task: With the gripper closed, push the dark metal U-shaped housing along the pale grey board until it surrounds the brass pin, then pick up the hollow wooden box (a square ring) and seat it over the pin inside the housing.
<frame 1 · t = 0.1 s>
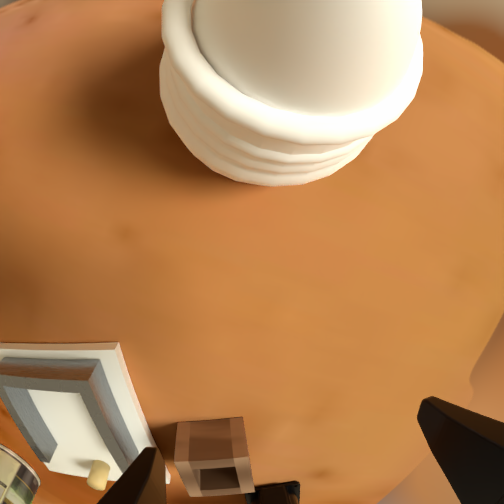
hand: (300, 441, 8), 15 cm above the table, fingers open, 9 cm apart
base board: (74, 419, 24), on the table
housing: (63, 419, 21), point 3 cm above the table, slide at 0.0 cm
honey pot: (263, 96, 20), on the table
hollow wooden box: (215, 440, 26), on the table
coffee can: (11, 463, 25), on the table
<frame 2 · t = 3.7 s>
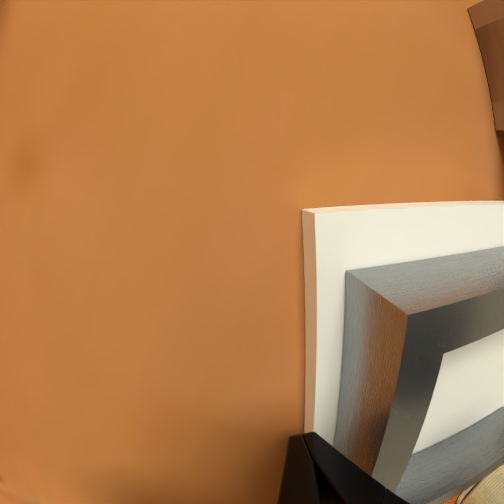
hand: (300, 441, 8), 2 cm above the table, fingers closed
base board: (474, 366, 12), on the table
housing: (479, 397, 8), point 3 cm above the table, slide at 0.0 cm, touching gripper
coffee can: (493, 469, 17), on the table
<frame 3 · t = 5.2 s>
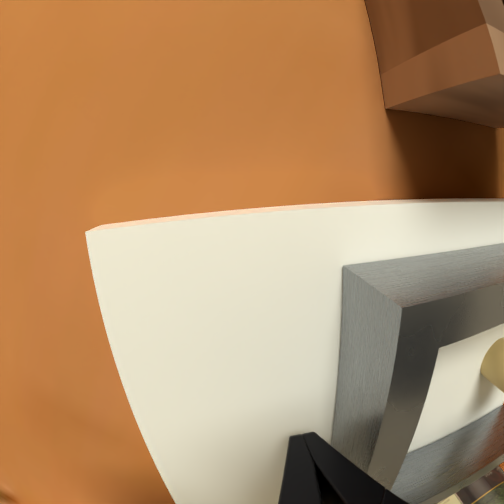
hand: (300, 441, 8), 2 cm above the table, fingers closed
base board: (375, 399, 11), on the table
housing: (477, 395, 8), point 3 cm above the table, slide at 5.9 cm, touching gripper
hollow wooden box: (437, 46, 8), on the table
coffee can: (451, 495, 17), on the table
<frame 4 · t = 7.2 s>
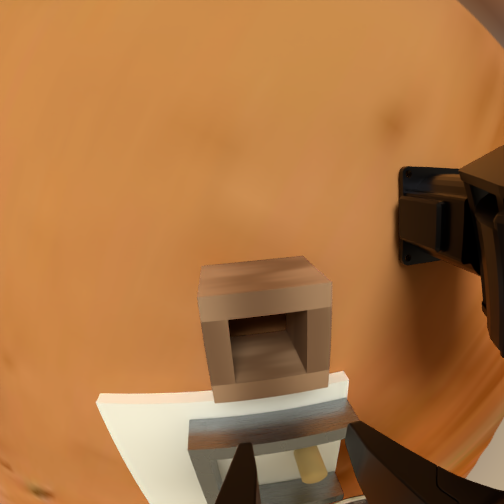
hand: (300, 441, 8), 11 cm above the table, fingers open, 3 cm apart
base board: (231, 457, 22), on the table
housing: (275, 470, 19), point 3 cm above the table, slide at 5.9 cm
hollow wooden box: (256, 308, 19), on the table
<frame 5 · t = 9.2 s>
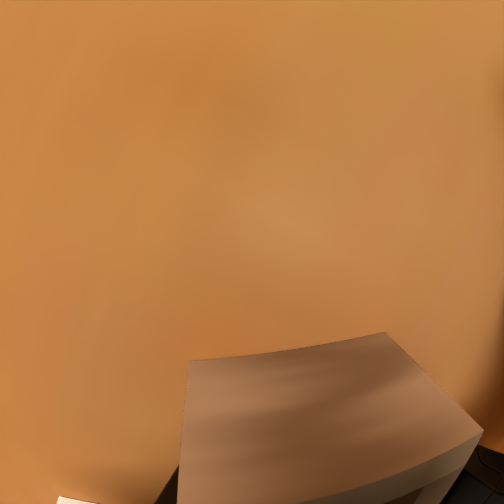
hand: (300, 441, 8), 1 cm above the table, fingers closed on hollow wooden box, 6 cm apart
hollow wooden box: (293, 421, 9), on the table, touching gripper
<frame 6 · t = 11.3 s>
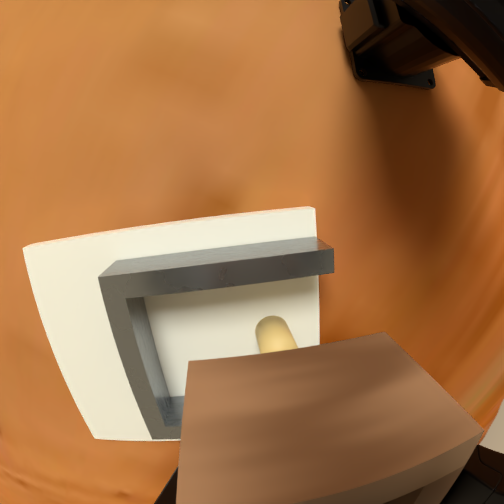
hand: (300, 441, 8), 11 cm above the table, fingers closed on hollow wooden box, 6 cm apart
base board: (178, 345, 19), on the table
housing: (227, 350, 17), point 3 cm above the table, slide at 5.9 cm
hollow wooden box: (293, 420, 9), point 10 cm above the table, touching gripper
when the fingers open (3 cm above the table, at t = 13.3 s): hollow wooden box drops 1 cm, resting on base board.
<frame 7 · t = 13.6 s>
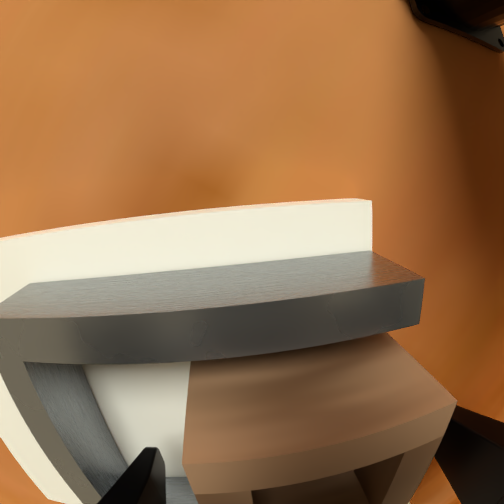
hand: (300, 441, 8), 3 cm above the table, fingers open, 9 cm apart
base board: (140, 411, 11), on the table
housing: (212, 440, 9), point 3 cm above the table, slide at 5.9 cm
hollow wooden box: (287, 400, 10), point 1 cm above the table, touching base board
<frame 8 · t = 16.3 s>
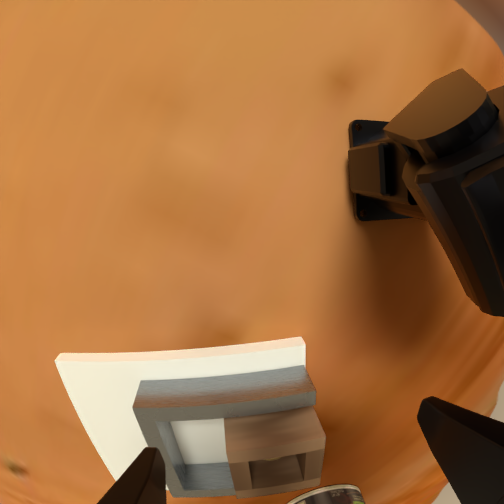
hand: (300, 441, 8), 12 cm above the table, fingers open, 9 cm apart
base board: (191, 430, 22), on the table
housing: (231, 443, 19), point 3 cm above the table, slide at 5.9 cm
hollow wooden box: (266, 424, 21), point 1 cm above the table, touching base board
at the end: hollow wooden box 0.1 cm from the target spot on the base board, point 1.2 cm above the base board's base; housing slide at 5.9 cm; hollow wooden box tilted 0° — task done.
